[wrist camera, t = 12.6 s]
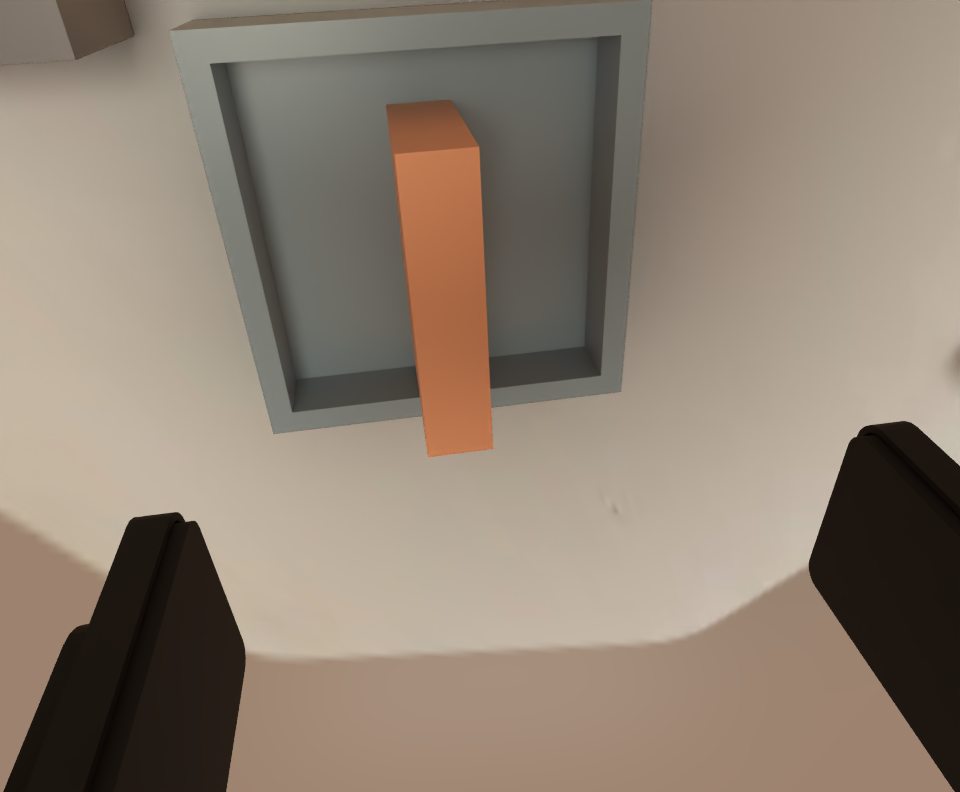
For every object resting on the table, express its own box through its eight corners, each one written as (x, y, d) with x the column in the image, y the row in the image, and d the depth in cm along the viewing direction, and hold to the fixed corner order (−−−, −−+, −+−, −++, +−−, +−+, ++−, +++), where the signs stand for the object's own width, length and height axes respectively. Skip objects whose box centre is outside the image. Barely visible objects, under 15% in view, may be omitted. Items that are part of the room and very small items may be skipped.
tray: (617, -7, 21) (652, -1, 19) (597, 352, 28) (620, 391, 26) (192, 20, 20) (168, 30, 17) (281, 388, 27) (273, 433, 24)
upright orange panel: (467, 353, 26) (450, 99, 21) (493, 448, 21) (479, 146, 16) (414, 359, 26) (385, 104, 21) (428, 457, 21) (394, 154, 16)
